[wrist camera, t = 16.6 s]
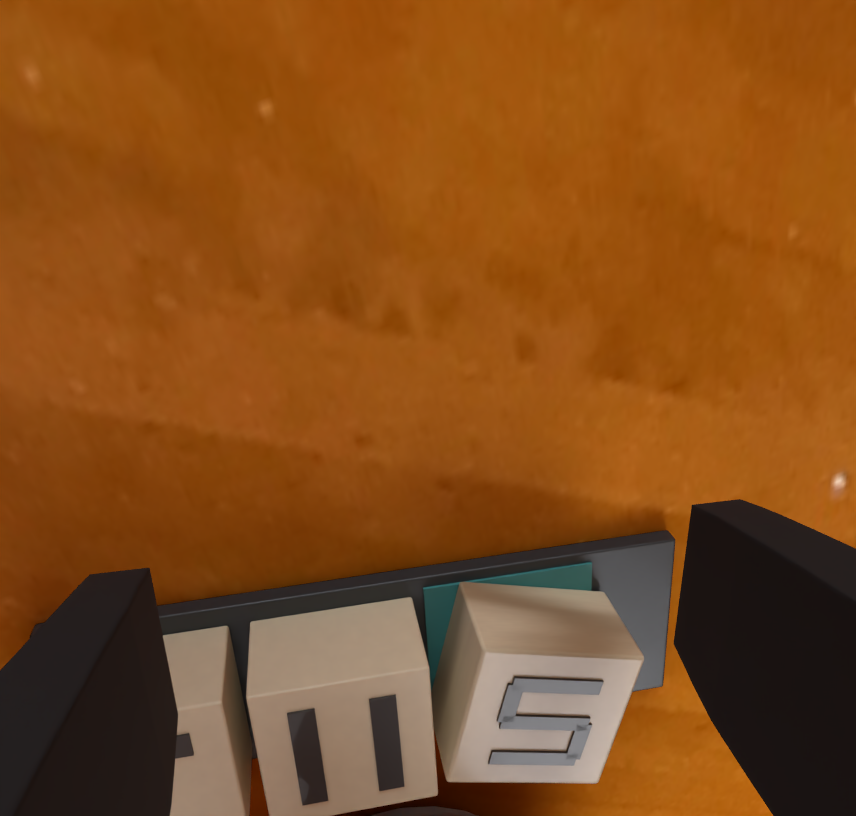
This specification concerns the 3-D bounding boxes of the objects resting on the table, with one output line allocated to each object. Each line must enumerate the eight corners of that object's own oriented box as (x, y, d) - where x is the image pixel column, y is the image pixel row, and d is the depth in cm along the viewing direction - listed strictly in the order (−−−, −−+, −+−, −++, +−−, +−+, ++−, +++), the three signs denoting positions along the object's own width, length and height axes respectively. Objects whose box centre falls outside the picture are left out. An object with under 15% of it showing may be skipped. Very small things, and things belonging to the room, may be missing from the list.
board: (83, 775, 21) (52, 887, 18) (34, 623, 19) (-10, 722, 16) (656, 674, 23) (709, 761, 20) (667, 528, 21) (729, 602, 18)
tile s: (426, 704, 21) (446, 786, 19) (458, 579, 20) (484, 651, 17) (564, 708, 22) (599, 787, 20) (604, 590, 21) (648, 659, 18)
